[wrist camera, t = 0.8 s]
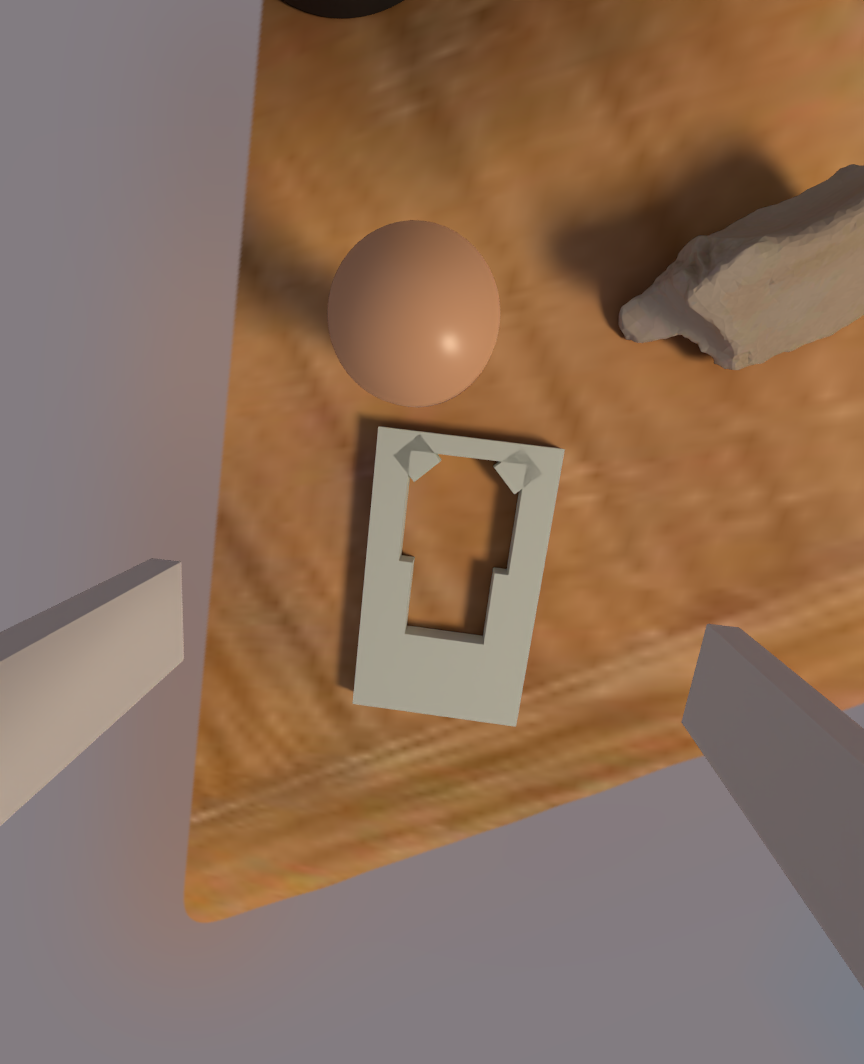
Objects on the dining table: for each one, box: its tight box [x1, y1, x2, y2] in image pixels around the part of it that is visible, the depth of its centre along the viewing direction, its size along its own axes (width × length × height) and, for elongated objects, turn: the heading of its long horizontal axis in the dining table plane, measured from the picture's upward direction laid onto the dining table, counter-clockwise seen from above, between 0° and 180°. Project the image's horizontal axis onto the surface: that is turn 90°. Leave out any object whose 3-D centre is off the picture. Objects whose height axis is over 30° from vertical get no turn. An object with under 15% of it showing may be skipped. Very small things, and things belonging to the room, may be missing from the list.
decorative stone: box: [619, 164, 864, 370], centre depth 27 cm, size 8×14×8 cm, turn 113°
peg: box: [328, 220, 500, 407], centre depth 26 cm, size 6×6×14 cm
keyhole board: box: [353, 426, 565, 726], centre depth 35 cm, size 20×12×2 cm, turn 173°
